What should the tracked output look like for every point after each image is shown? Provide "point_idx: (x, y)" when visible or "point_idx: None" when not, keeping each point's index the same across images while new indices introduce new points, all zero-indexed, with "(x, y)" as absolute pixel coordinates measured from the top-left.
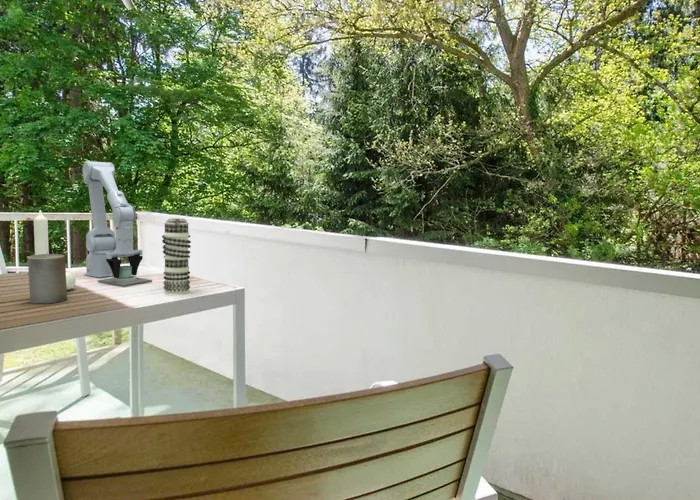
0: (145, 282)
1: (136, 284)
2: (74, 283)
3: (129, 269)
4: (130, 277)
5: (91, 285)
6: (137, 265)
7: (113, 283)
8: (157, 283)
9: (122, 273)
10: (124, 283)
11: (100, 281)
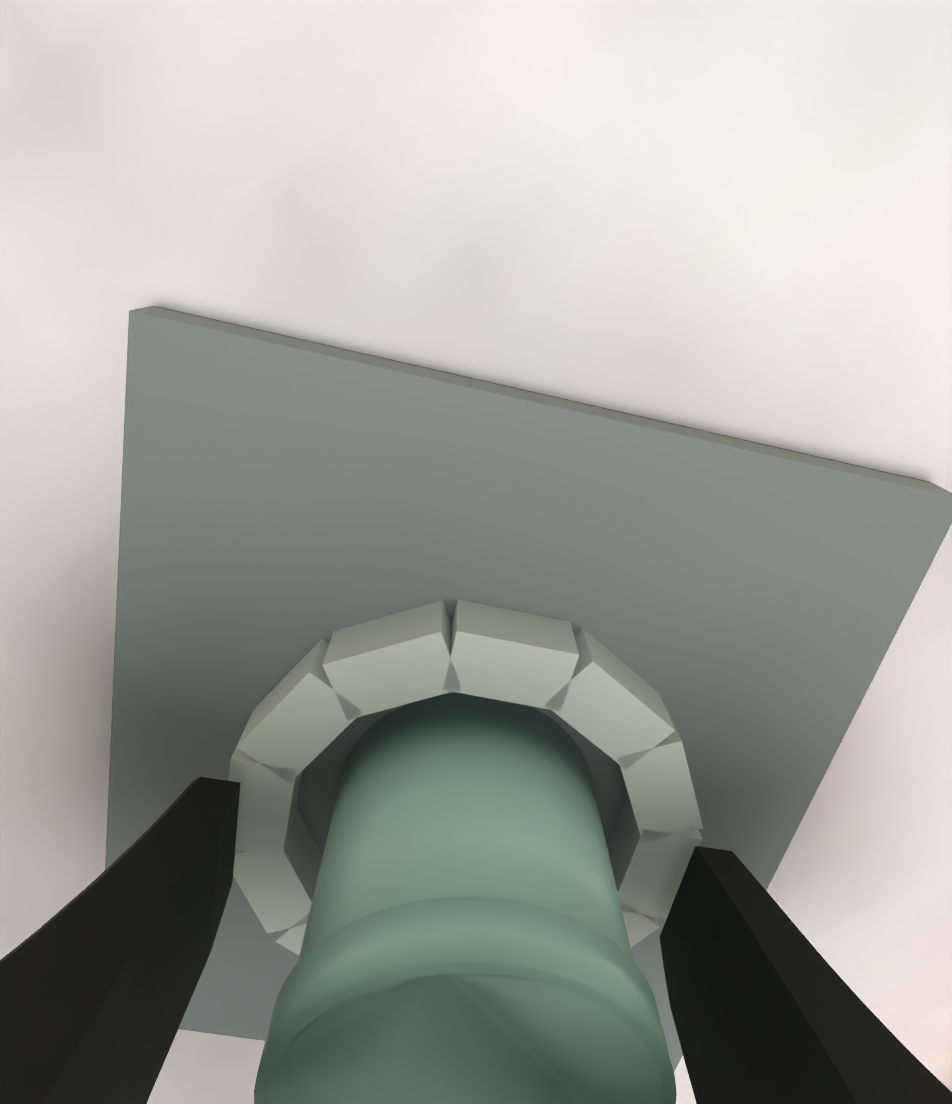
0: (355, 354)
1: (621, 412)
2: None
3: (505, 900)
4: (452, 737)
5: (898, 997)
6: (68, 972)
7: (810, 787)
8: (212, 28)
9: (618, 909)
10: (809, 592)
11: (678, 1040)
